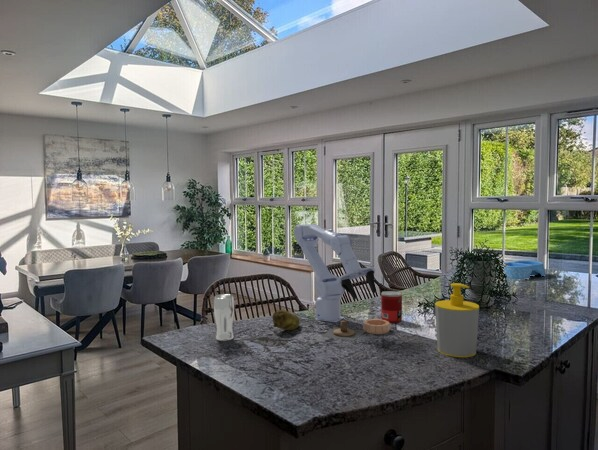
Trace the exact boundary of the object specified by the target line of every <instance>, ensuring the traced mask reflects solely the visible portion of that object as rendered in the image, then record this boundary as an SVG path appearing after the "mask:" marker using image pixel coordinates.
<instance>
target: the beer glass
mask: <svg viewBox="0 0 598 450" xmlns="http://www.w3.org/2000/svg"><path fill="white" fill-rule="evenodd" d="M213 299H214V300H213V313H214V314H213V315H214V320H215V323H216V336H215V340H216V341H220V342H227V341H232V340H234V333H233V323H234V322H233V321H234V316H235V301H234V294H230V293H220V294H216V295H215V296H214V298H213Z"/></svg>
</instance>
